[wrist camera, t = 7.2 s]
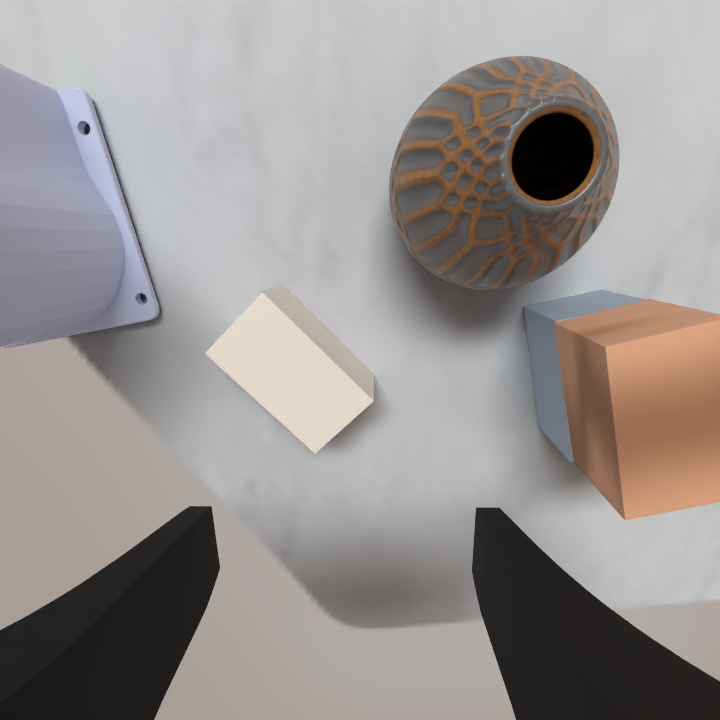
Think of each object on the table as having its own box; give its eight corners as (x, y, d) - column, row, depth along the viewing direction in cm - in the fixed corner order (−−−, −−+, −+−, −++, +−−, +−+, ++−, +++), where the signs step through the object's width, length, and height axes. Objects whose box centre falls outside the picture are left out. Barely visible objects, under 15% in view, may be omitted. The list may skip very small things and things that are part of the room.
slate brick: (522, 306, 19) (555, 320, 15) (599, 289, 18) (651, 301, 15) (537, 424, 20) (570, 462, 17) (608, 411, 20) (657, 447, 17)
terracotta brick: (660, 444, 17) (736, 498, 13) (573, 462, 17) (624, 520, 13) (649, 299, 15) (730, 316, 12) (553, 322, 15) (605, 346, 12)
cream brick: (234, 333, 20) (204, 353, 16) (282, 282, 19) (262, 292, 15) (325, 418, 21) (315, 453, 17) (374, 373, 20) (374, 400, 17)
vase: (548, 274, 18) (695, 303, 10) (391, 285, 19) (403, 321, 10) (556, 97, 16) (749, -56, 8) (382, 113, 17) (388, -17, 8)
